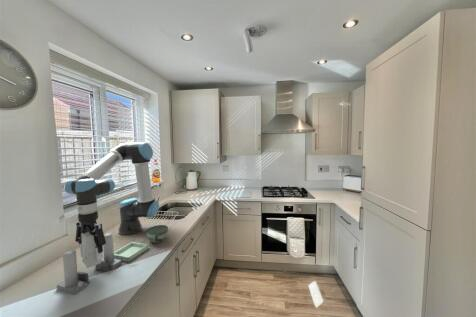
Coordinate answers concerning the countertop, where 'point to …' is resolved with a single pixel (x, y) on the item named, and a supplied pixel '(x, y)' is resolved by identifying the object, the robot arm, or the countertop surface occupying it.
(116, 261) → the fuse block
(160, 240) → the bowl
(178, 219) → the countertop surface
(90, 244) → the skincare box
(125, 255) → the tray
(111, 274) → the countertop surface
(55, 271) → the countertop surface
